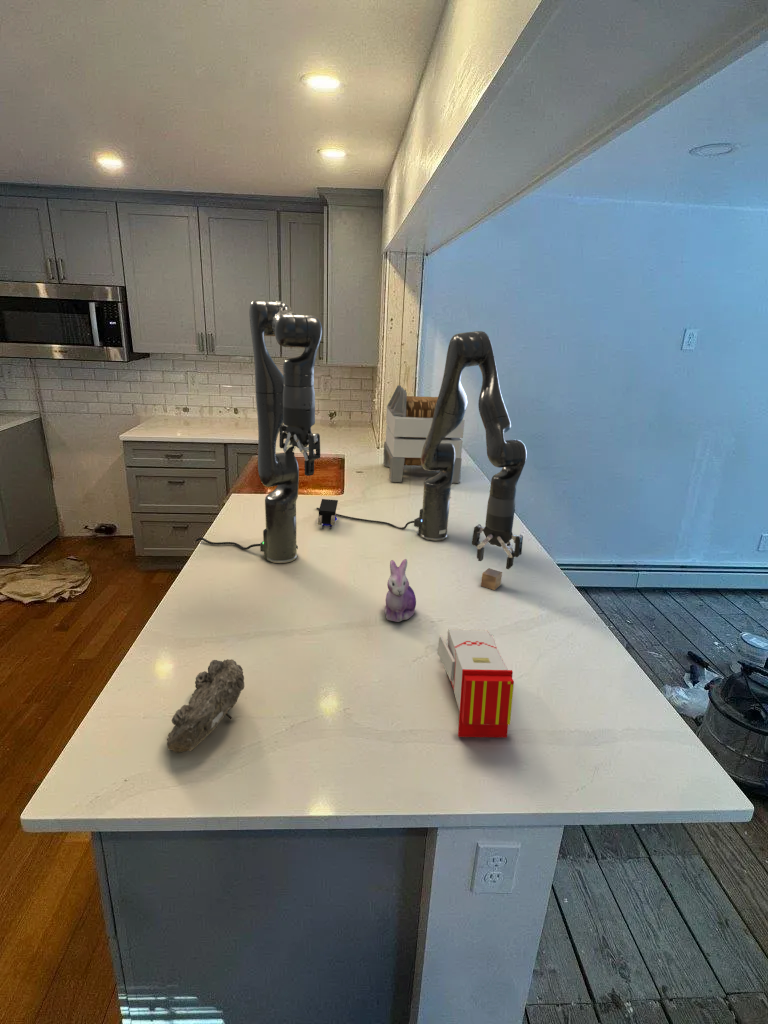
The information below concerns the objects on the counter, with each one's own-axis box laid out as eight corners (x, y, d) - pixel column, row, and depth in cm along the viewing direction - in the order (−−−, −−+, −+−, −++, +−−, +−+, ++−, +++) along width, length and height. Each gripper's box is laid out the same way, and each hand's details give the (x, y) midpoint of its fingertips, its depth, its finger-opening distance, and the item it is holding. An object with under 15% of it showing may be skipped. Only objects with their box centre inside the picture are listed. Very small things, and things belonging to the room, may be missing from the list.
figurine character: (335, 535, 199) (338, 516, 213) (336, 516, 196) (338, 497, 209) (316, 534, 199) (320, 515, 213) (316, 515, 196) (320, 497, 209)
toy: (488, 613, 130) (523, 677, 101) (484, 667, 133) (517, 744, 104) (435, 612, 130) (455, 676, 101) (432, 666, 133) (451, 743, 103)
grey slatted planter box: (382, 463, 289) (386, 382, 275) (445, 464, 293) (451, 384, 279) (390, 482, 257) (394, 392, 243) (460, 483, 261) (468, 394, 247)
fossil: (192, 660, 117) (244, 628, 112) (224, 691, 120) (276, 661, 115) (142, 746, 98) (202, 712, 93) (182, 779, 101) (242, 748, 96)
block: (480, 586, 165) (482, 573, 163) (487, 580, 168) (488, 567, 167) (494, 590, 162) (496, 577, 161) (500, 584, 166) (502, 572, 164)
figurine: (392, 627, 141) (395, 572, 136) (374, 608, 149) (376, 556, 144) (425, 619, 145) (429, 566, 140) (405, 601, 154) (408, 550, 149)
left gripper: (269, 401, 136) (270, 466, 141) (302, 410, 126) (302, 480, 131) (295, 399, 140) (296, 462, 146) (329, 408, 131) (329, 475, 136)
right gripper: (471, 509, 158) (466, 562, 164) (520, 520, 151) (512, 575, 156) (482, 502, 164) (477, 553, 169) (529, 513, 157) (522, 566, 162)
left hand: (299, 471), depth 139 cm, fingers open, 8 cm apart
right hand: (494, 564), depth 163 cm, fingers open, 8 cm apart
